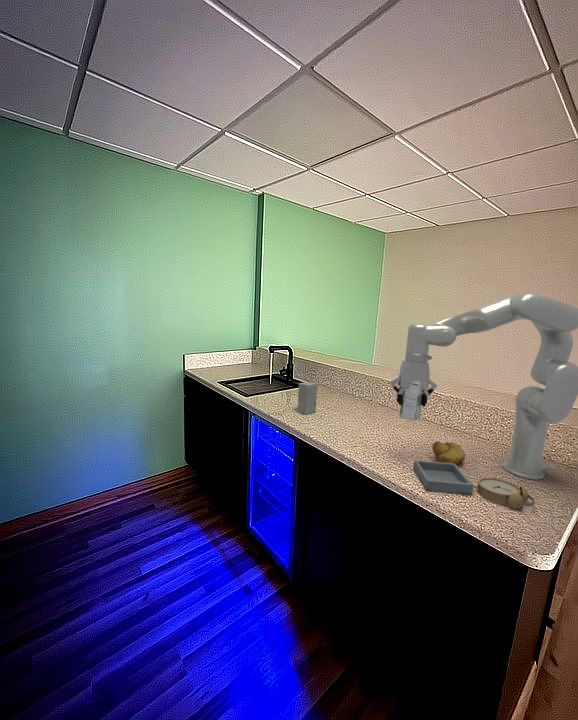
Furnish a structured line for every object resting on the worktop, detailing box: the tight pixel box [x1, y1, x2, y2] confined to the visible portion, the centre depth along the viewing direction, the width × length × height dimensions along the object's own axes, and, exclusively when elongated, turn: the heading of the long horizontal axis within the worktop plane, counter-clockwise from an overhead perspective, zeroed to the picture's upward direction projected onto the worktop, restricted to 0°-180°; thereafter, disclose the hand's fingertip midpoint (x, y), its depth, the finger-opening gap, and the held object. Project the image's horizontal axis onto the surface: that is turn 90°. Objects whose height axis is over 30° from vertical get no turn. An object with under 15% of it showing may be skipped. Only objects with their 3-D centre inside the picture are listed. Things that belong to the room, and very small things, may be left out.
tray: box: [412, 459, 475, 496], centre depth 107 cm, size 14×14×4 cm
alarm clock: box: [473, 477, 536, 510], centre depth 99 cm, size 11×5×15 cm
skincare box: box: [297, 381, 318, 416], centre depth 171 cm, size 8×7×16 cm
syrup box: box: [399, 381, 423, 422], centre depth 119 cm, size 6×6×14 cm
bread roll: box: [431, 440, 466, 466], centre depth 122 cm, size 13×10×8 cm
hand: (411, 404), depth 119 cm, fingers closed on syrup box, 7 cm apart
